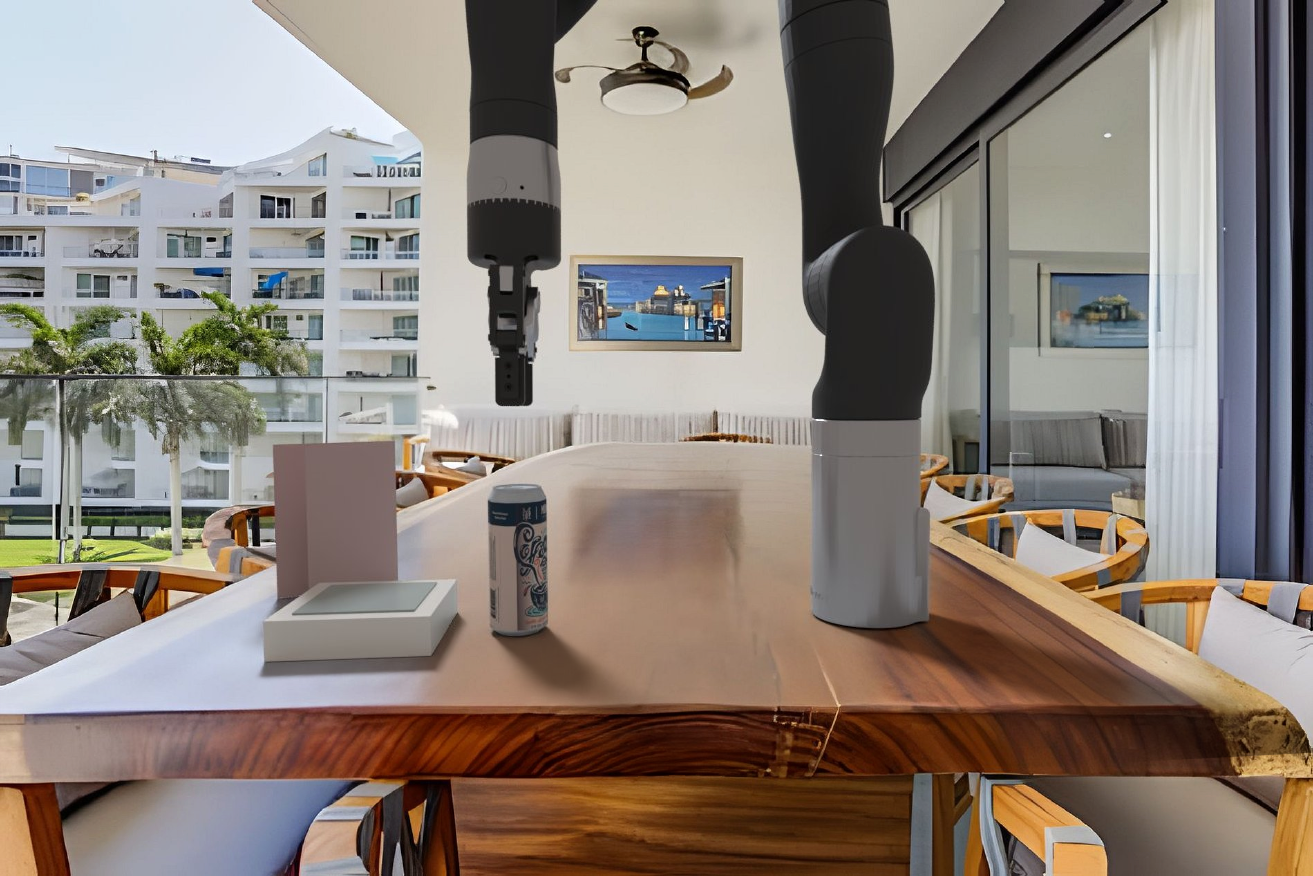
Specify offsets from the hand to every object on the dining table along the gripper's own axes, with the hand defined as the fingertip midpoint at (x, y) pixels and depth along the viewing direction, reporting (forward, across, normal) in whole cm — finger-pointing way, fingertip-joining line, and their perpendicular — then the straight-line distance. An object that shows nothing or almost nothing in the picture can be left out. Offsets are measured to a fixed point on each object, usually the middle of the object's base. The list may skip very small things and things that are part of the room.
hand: (515, 406), depth 63 cm
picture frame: (+19, 0, +12) cm, 22 cm away
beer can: (+19, 0, 0) cm, 19 cm away
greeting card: (+19, +13, +18) cm, 29 cm away
